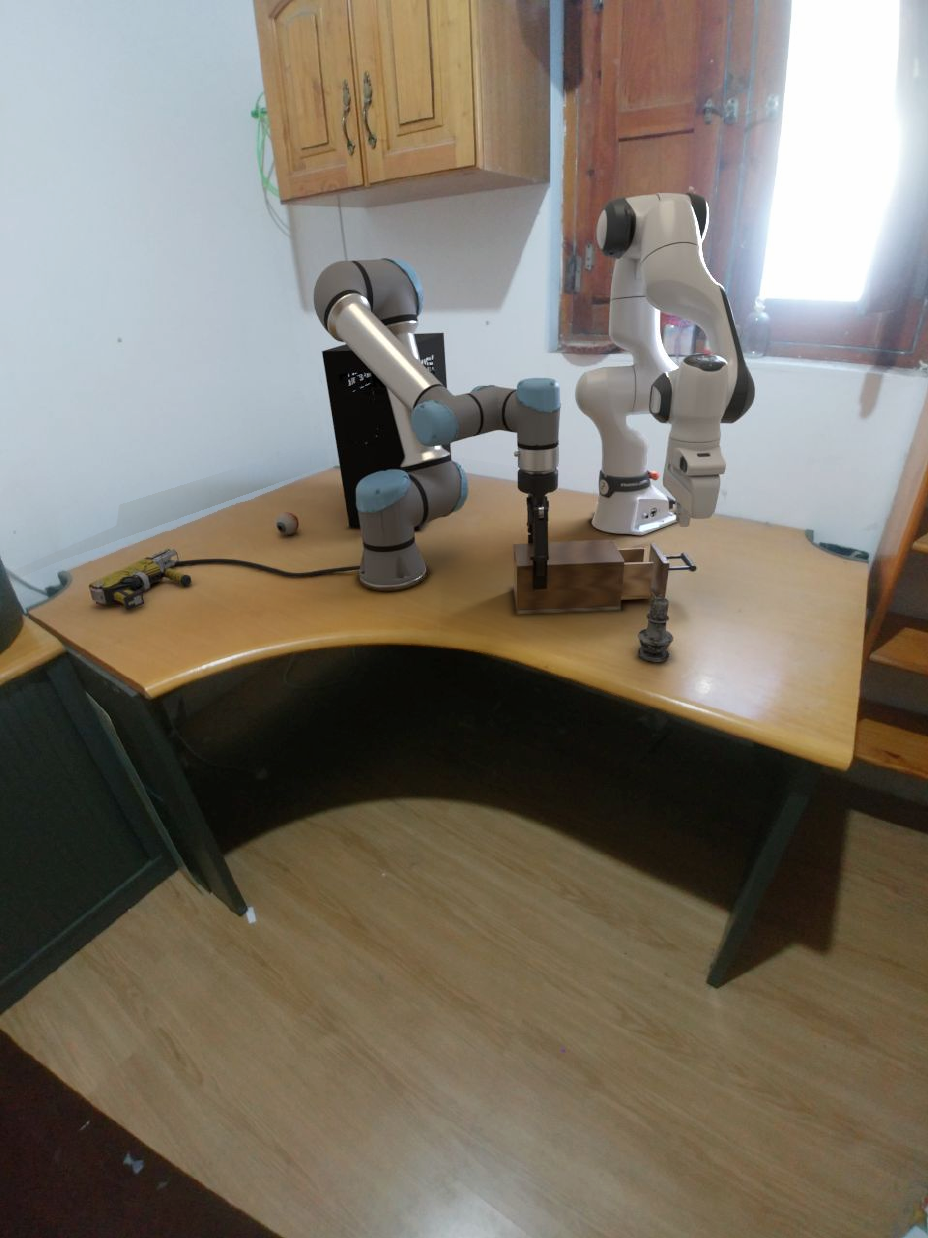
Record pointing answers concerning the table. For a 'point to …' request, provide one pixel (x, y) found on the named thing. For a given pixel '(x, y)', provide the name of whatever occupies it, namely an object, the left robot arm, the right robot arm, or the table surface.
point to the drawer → (648, 571)
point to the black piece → (369, 415)
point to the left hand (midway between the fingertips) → (536, 575)
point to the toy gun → (136, 580)
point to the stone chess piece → (656, 632)
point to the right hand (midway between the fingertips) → (682, 524)
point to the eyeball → (287, 523)
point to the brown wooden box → (570, 578)
